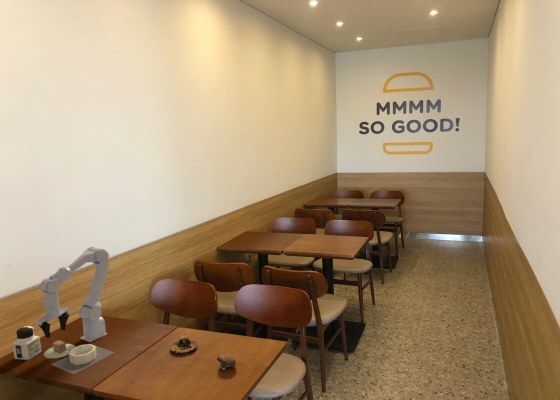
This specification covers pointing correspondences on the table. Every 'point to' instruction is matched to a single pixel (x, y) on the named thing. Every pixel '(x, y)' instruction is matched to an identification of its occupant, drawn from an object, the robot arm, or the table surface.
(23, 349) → the container
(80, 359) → the bowl
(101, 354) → the mat
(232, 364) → the mushroom
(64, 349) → the lid
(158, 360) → the table surface
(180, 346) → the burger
